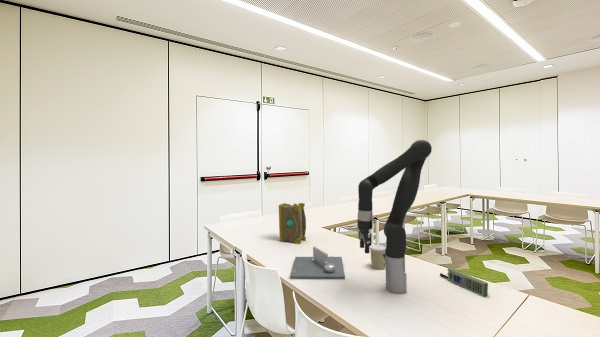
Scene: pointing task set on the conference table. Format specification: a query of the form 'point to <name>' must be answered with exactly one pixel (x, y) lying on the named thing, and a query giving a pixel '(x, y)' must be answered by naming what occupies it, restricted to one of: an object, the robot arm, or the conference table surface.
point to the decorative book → (292, 222)
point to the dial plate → (316, 269)
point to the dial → (323, 259)
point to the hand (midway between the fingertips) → (364, 250)
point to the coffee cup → (378, 257)
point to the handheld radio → (467, 282)
